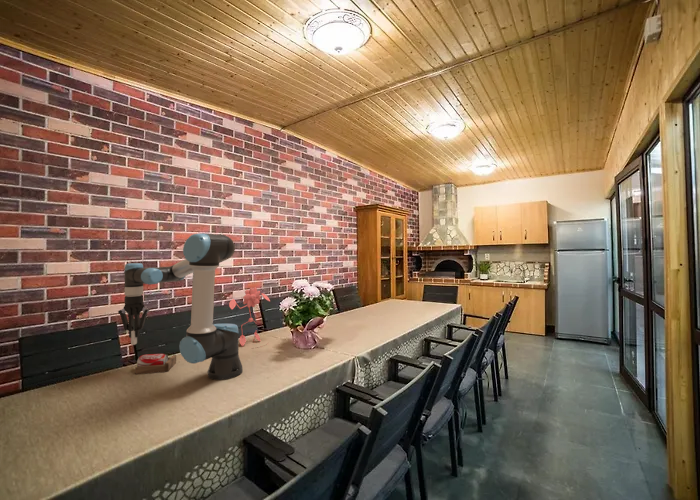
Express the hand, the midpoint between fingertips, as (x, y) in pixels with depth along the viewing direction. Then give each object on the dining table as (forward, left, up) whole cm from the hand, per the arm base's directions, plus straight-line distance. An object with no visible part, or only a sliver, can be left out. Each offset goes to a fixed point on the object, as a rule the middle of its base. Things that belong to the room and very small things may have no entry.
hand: (134, 343), depth 155 cm
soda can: (0, -2, -9) cm, 9 cm away
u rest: (0, -10, -13) cm, 16 cm away
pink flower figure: (+29, -53, -13) cm, 61 cm away
